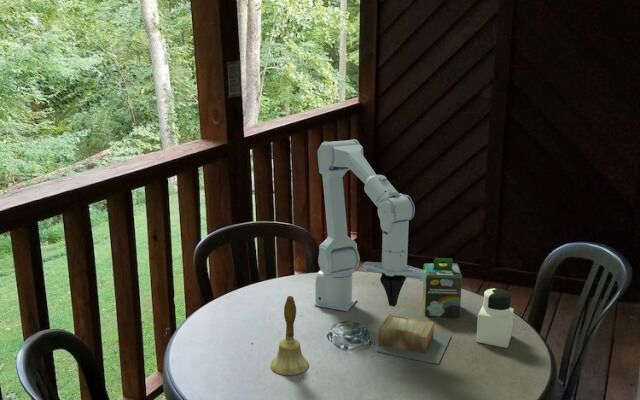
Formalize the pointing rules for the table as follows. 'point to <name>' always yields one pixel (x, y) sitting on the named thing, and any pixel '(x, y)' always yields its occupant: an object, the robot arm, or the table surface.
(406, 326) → the tan rectangular block
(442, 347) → the mat
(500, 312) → the medicine bottle
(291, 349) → the hand bell
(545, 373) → the table surface
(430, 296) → the chalk box
